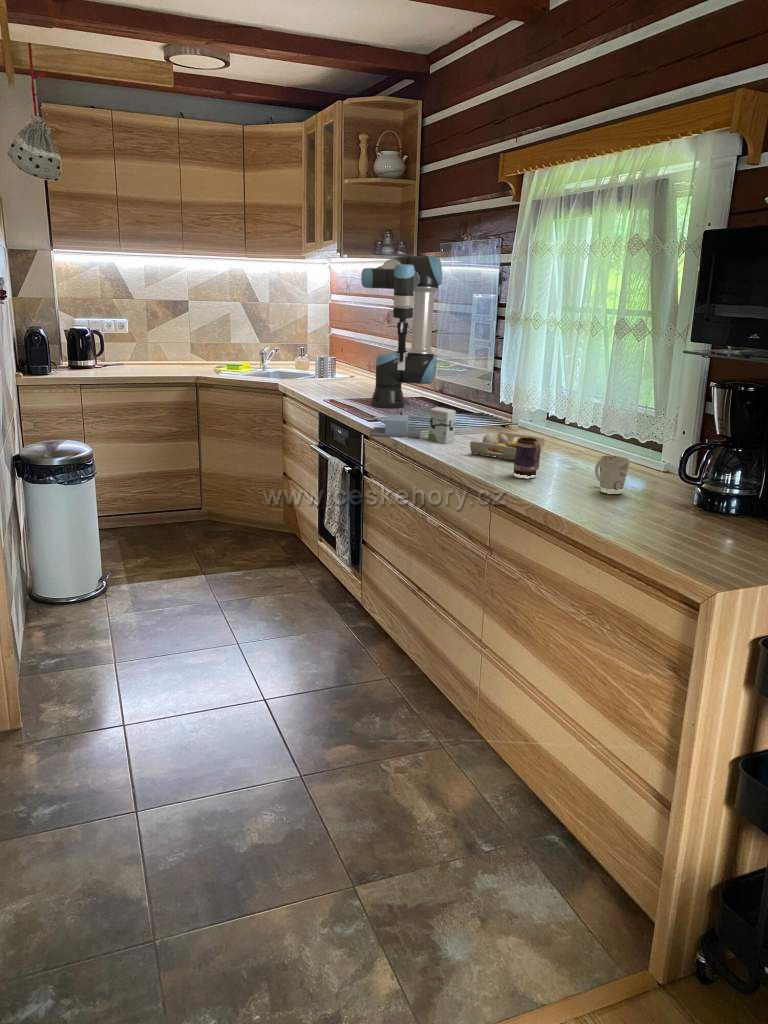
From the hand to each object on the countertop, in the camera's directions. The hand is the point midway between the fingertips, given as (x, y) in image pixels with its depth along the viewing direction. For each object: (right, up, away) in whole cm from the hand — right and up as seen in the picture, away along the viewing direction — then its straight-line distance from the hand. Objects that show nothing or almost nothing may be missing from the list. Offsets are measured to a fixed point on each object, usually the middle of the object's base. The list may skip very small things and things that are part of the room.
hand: (401, 369), depth 306 cm
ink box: (+14, -30, -19) cm, 38 cm away
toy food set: (+36, -35, -32) cm, 60 cm away
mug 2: (+37, -45, -64) cm, 87 cm away
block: (-1, -20, -1) cm, 20 cm away
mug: (+58, -49, -75) cm, 107 cm away
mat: (-2, -25, -8) cm, 27 cm away
